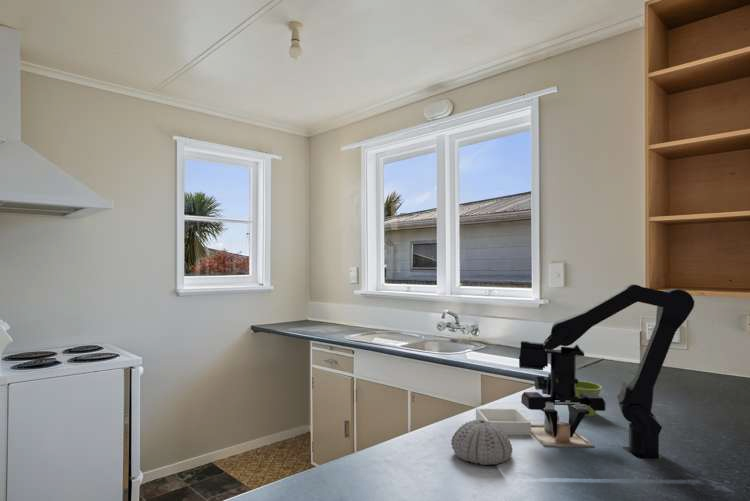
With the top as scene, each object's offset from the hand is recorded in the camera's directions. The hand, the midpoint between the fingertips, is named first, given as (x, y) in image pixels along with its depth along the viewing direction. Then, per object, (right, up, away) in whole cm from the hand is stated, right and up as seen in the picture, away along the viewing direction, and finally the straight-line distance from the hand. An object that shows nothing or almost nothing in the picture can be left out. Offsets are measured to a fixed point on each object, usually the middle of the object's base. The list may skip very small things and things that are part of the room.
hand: (562, 436), depth 114 cm
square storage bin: (-12, -2, +9) cm, 15 cm away
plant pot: (+15, -3, +23) cm, 27 cm away
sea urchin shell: (-22, -1, -9) cm, 24 cm away
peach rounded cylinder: (0, -1, 0) cm, 1 cm away
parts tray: (0, -2, +3) cm, 4 cm away
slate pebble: (0, -1, +6) cm, 6 cm away
